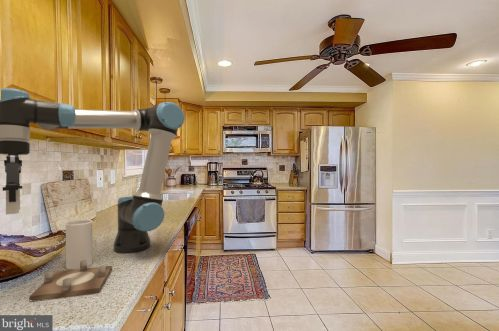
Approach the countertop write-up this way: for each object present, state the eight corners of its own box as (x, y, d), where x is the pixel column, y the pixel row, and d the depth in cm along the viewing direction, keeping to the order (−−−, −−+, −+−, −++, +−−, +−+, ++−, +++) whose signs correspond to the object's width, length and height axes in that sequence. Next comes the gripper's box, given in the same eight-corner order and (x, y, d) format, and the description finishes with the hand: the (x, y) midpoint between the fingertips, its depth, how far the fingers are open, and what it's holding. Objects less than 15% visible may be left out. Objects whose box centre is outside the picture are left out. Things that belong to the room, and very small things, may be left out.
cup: (87, 259, 103) (87, 218, 103) (96, 264, 98) (95, 221, 97) (62, 265, 96) (62, 222, 96) (70, 271, 91) (70, 225, 91)
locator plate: (111, 269, 92) (111, 257, 92) (99, 292, 76) (99, 277, 76) (55, 275, 88) (55, 262, 88) (29, 301, 71) (29, 285, 71)
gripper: (-1, 144, 86) (-1, 209, 85) (-9, 134, 67) (-9, 217, 66) (29, 146, 91) (29, 207, 90) (29, 136, 72) (30, 214, 71)
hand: (13, 211), depth 78 cm, fingers open, 13 cm apart
